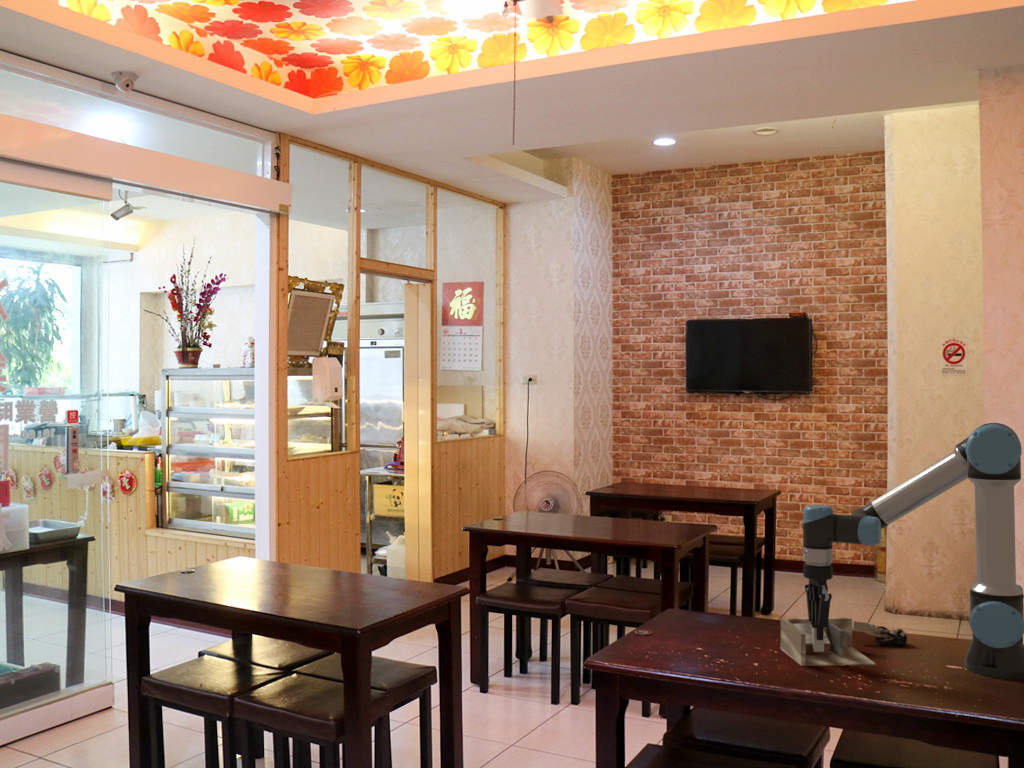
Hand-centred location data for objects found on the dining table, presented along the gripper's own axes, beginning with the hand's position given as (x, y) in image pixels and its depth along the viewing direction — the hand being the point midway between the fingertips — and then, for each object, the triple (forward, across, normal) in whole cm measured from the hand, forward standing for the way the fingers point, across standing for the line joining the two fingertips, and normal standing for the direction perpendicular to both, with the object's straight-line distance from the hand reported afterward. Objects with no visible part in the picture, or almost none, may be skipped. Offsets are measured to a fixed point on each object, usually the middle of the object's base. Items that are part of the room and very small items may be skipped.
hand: (818, 651), depth 243 cm
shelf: (+3, -3, +3) cm, 5 cm away
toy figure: (-1, -18, +17) cm, 24 cm away
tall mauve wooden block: (0, -2, 0) cm, 2 cm away
